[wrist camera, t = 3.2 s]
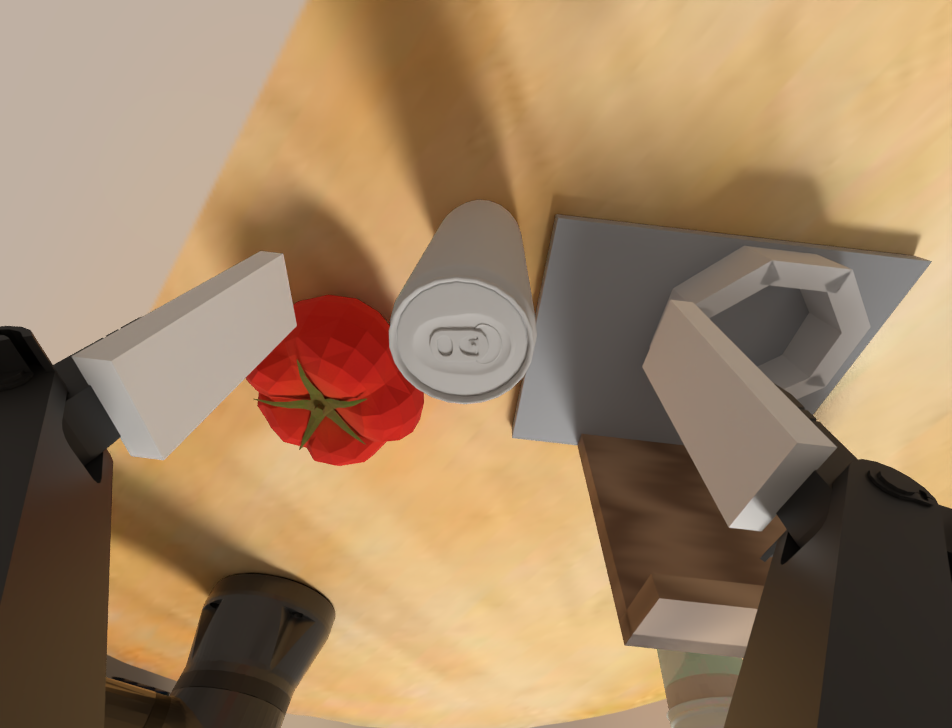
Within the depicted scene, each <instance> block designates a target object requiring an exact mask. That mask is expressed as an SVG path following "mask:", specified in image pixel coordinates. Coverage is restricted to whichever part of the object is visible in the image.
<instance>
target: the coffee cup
mask: <svg viewBox="0 0 952 728" xmlns="http://www.w3.org/2000/svg"><path fill="white" fill-rule="evenodd" d="M657 652H658V657H659V662H660V667H661V672H662V677H663V683H664V688H665V693H666V698H667V703H668V708H669V711H668V713H667V718H668V720H669V721H670V724H671V728H724V724H725V721H726V717H727V714H728V710H729V707H730V703H731V700H732V696H733V693H734V690H735V686H736V683H737V679H738V676H739V672H740V669H741V665H742V662H743V660H742V658H737V657H728V656H718V655H709V654H700V653H691V652H682V651H672V650H663V649H657Z"/></svg>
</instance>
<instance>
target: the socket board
mask: <svg viewBox="0 0 952 728" xmlns="http://www.w3.org/2000/svg"><path fill="white" fill-rule="evenodd" d="M931 262H932V261H929V260H926V259H923V258H919V257H916V256H911V255H903V254H894V253H886V252H877V251H868V250H860V249H851V248H843V247H834V246H826V245H817V244H808V243H800V242H791V241H783V240H774V239H766V238H757V237H748V236H740V235H731V234H723V233H714V232H706V231H697V230H688V229H680V228H671V227H663V226H654V225H646V224H637V223H628V222H620V221H611V220H603V219H594V218H586V217H577V216H568V215H560V214H556V216H555V221H554V225H553V230H552V235H551V240H550V245H549V250H548V255H547V260H546V265H545V269H544V274H543V279H542V284H541V289H540V294H539V299H538V304H537V309H536V314H535V320H536V330H537V338H536V343H535V347H534V352H533V356H532V361H531V364H530V366H529V367H528V369H527V371H526V373H525V375H524V377H523V378H522V382H521V387H520V392H519V397H518V402H517V407H516V411H515V416H514V421H513V426H512V438H517V439H526V440H535V441H544V442H553V443H562V444H571V445H578V443H579V440H580V437H581V434H588V435H597V436H606V437H615V438H624V439H633V440H642V441H650V442H659V443H668V444H677V445H684V444H683V442H682V440H681V438H680V436H679V434H678V432H677V431H676V429H675V427H674V425H673V423H672V421H671V419H670V418H669V416H668V414H667V412H666V410H665V408H664V406H663V405H662V403H661V401H660V399H659V397H658V395H657V393H656V392H655V390H654V388H653V386H652V384H651V382H650V380H649V379H648V377H647V375H646V373H645V371H644V369H643V367H642V366H643V364H644V361H645V359H646V356H647V354H648V352H649V349H650V347H651V344H652V342H653V340H654V337H655V335H656V333H657V330H658V328H659V325H660V323H661V321H662V318H663V316H664V313H665V311H666V309H667V306H668V304H669V301H670V300H678V301H687V302H693V303H694V304H695V305H696V306H697V307H698V308H699V309H700V310H701V311H702V312H703V313H704V314H705V315H706V316H707V317H708V318H709V319H710V320H711V321H712V322H713V323H714V324H715V325H716V326H717V327H718V328H719V329H720V330H721V331H722V332H723V333H724V334H725V335H726V336H727V337H728V338H729V339H730V340H731V341H732V342H733V343H734V344H735V345H736V346H737V347H738V348H739V349H740V350H741V351H742V352H743V353H744V354H745V355H746V356H747V357H748V358H749V359H750V360H751V361H752V362H753V363H754V364H755V365H756V366H757V367H758V368H759V369H760V370H761V371H762V372H763V373H764V374H765V375H766V376H767V377H768V378H769V379H770V380H771V381H772V382H773V383H775V384H776V385H778V386H779V387H781V388H783V389H784V390H786V391H787V392H789V393H790V394H792V395H793V396H794V397H795V398H796V399H797V400H798V401H799V402H800V403H801V404H802V405H803V406H804V407H805V410H808V411H809V412H810V413H811V414H812V415H813V414H814V413H815V412H816V410H817V409H818V408H819V406H820V405H821V404H822V403H823V401H824V400H825V399H826V397H827V396H828V395H829V394H830V392H831V391H832V390H833V388H834V387H835V386H836V385H837V383H838V382H839V381H840V379H841V378H842V377H843V376H844V374H845V373H846V372H847V370H848V369H849V368H850V367H851V365H852V364H853V363H854V361H855V360H856V359H857V357H858V356H859V355H860V354H861V352H862V351H863V350H864V348H865V347H866V346H867V345H868V343H869V342H870V341H871V339H872V338H873V337H874V336H875V334H876V333H877V332H878V330H879V329H880V328H881V327H882V325H883V324H884V323H885V321H886V320H887V319H888V318H889V316H890V315H891V314H892V312H893V311H894V310H895V308H896V307H897V306H898V305H899V303H900V302H901V301H902V299H903V298H904V297H905V296H906V294H907V293H908V292H909V290H910V289H911V288H912V287H913V285H914V284H915V283H916V281H917V280H918V279H919V278H920V276H921V275H922V274H923V272H924V271H925V270H926V269H927V267H928V266H929V265H930V263H931Z"/></svg>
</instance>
